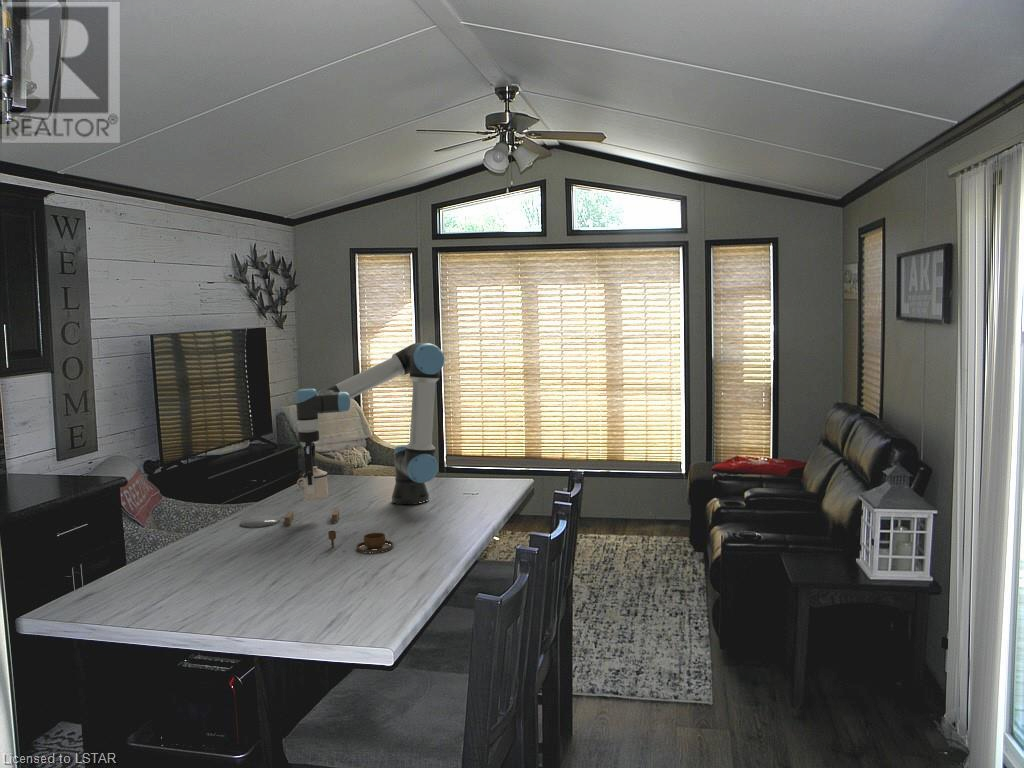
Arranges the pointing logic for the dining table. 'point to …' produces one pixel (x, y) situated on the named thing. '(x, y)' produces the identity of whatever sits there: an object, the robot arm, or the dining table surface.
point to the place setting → (367, 542)
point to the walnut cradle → (289, 516)
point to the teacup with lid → (316, 485)
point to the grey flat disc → (260, 521)
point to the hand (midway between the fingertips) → (312, 490)
